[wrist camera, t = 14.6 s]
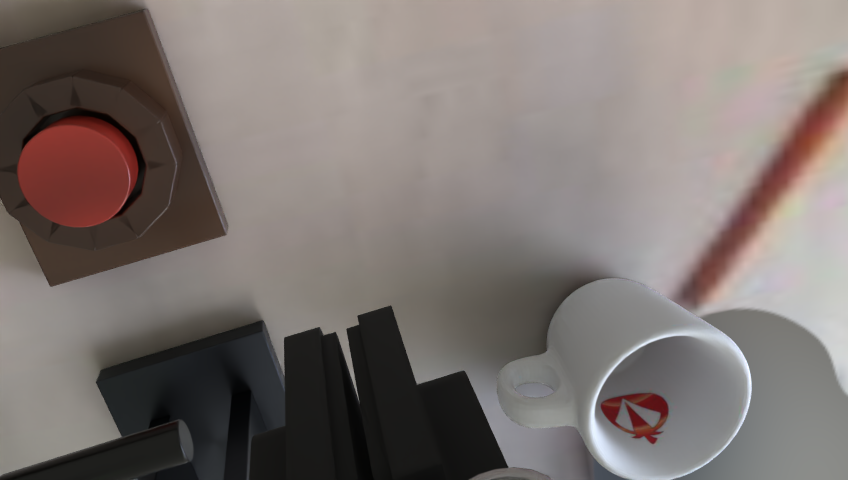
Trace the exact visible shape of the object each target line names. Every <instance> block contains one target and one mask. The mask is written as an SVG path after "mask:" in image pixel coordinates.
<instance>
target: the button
mask: <svg viewBox="0 0 848 480" xmlns="http://www.w3.org/2000/svg"><path fill="white" fill-rule="evenodd" d="M17 176H18V182H19V186H20V188H21V191H22V193H23V195H24V197H25V199H26V200H27V201H28V203H29V204H30V205H31V206H32V207H33V208H34V209H35V210H36V211H37V212H38V213H39V214H41V215H42V216H44V217H45V218H47V219H49V220H51V221H52V222H55V223H58V224H60V225H64V226H69V227H90V226H94V225H97V224H100V223H103V222H105V221H107V220H109V219H110V218H111V217H113V216H114V215H115V214H116V213H117V212H119V210H120V209H121V208H122V207H123V205H124V204H125V202H126V200H127V199H128V197H129V195H130V194H131V192H132V190H133V189H134V187H135V184H136V181H137V177H138V161H137V156H136V153H135V150H134V148H133V146H132V145H131V143H130V141H129V140H128V139H127V137H126V136H125V135H124V134H123V133H122V132H121V131H120V130H119V129H117V128H116V127H115V126H113V125H112V124H110V123H108V122H106V121H104V120H101V119H98V118H95V117H90V116H80V115H78V116H69V117H65V118H62V119H59V120H57V121H55V122H53V123H51V124H50V125H49V126H47V127H46V128H44V129H43V130H42V131H40V132H39V133H38V134H36V135H35V136H34V137H33V138H31V139H30V140H29V141H28V143H27V144H26V145H25V147H24V148H23V150H22V152H21V154H20V157H19V161H18V166H17Z"/></svg>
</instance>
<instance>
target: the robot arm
mask: <svg viewBox="0 0 848 480" xmlns="http://www.w3.org/2000/svg"><path fill="white" fill-rule="evenodd" d="M358 321H359V325H357V326H354V327H350V328H347V329H346V330H347V336H348V341H349V347H350V352H351V358H352V363H353V369H354V374H355V380H356V386H357V391H358V397H359V400H358V397H357V394H356V391H355V388H354V385H353V382H352V379H351V376H350V373H349V370H348V366H347V363H346V360H345V357H344V354H343V351H342V348H341V345H340V342H339V339H338V336H337V334H336V332H334V333H330V334H327V335H324V336H323V333H322V331H321V329H320V327H318V328H314V329H311V330H308V331H304V332H301V333H298V334H294V335H291V336H288V337H285V338H284V365H285V426H282V427H279V428H275V429H272V430H269V431H266V432H262V433H259V434H256V435H254V436H253V437H252V441H251V454H250V471H249V480H552V479H551V478H550V477H548V476H547V475H544V474H542V473H539V472H537V471H534V470H531V469H523V468H515V467H513V468H508V466H507V464H506V461H505V459H504V457H503V455H502V452H501V450H500V448H499V446H498V443H497V441H496V439H495V437H494V434H493V432H492V430H491V428H490V425H489V423H488V421H487V419H486V416H485V414H484V412H483V410H482V408H481V405H480V403H479V401H478V399H477V396H476V394H475V392H474V390H473V387H472V385H471V383H470V381H469V378H468V376H467V374H466V372H465V371H460V372H457V373H454V374H451V375H447V376H444V377H441V378H438V379H434V380H431V381H428V382H425V383H421V384H418V385H417V384H416V381H415V378H414V375H413V372H412V369H411V366H410V362H409V359H408V356H407V353H406V350H405V347H404V344H403V341H402V337H401V334H400V331H399V328H398V325H397V322H396V319H395V315H394V312H393V309H392V306H388V307H384V308H381V309H378V310H374V311H371V312H368V313H364V314H361V315H358ZM359 402H360V403H359Z"/></svg>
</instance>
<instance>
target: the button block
mask: <svg viewBox="0 0 848 480" xmlns="http://www.w3.org/2000/svg"><path fill="white" fill-rule="evenodd" d="M78 115H80V116H90V117H95V118H98V119H101V120H104V121H106V122H108V123H110V124H112V125H113V126H115V127H116V128H117V129H119V130H120V131H121V132H122V133H123V134H124V135H125V136H126V137H127V139H128V140H129V141H130V143H131V145H132V146H133V148H134V150H135V153H136V156H137V161H138V177H137V181H136V184H135V187H134V189H133V190H132V192H131V194H130V195H129V197H128V199H127V200H126V202H125V204H124V205H123V207H122V208H121V209H120V210H119V212H117V213H116V214H115V215H114V216H113V217H111V218H110V219H109V220H107V221H105V222H103V223H100V224H97V225H94V226H90V227H69V226H64V225H60V224H58V223H55V222H52V221H51V220H49V219H47V218H45V217H44V216H42V215H41V214H39V213H38V212H37V211H36V210H35V209H34V208H33V207H32V206H31V205H30V204H29V203H28V201H27V200H26V199H25V197H24V195H23V193H22V191H21V188H20V186H19V182H18V176H17V166H18V161H19V157H20V154H21V152H22V150H23V148H24V147H25V145H26V144H27V143H28V141H29V140H30V139H31V138H33V137H34V136H35V135H36V134H38V133H39V132H40V131H42V130H43V129H44V128H46V127H47V126H49V125H50V124H51V123H53V122H55V121H57V120H59V119H62V118H65V117H69V116H78ZM0 198H1V200H2V202H3V204H4V206H5V208H6V210H7V212H9V214H10V215H11V216H13V217H14V218H15V219H17V220H18V221H19V222H20V224H21V227H22V229H23V231H24V233H25V235H26V237H27V239H28V241H29V243H30V245H31V247H32V250H33V252H34V254H35V256H36V258H37V260H38V262H39V264H40V266H41V268H42V270H43V273H44V275H45V277H46V279H47V281H48V283H49V285H50V286H56V285H59V284H62V283H66V282H69V281H72V280H76V279H79V278H83V277H86V276H89V275H93V274H96V273H99V272H103V271H106V270H110V269H113V268H116V267H120V266H123V265H127V264H130V263H133V262H137V261H140V260H143V259H147V258H150V257H154V256H157V255H160V254H164V253H167V252H171V251H174V250H177V249H181V248H184V247H187V246H191V245H194V244H198V243H201V242H204V241H208V240H211V239H214V238H218V237H221V236H225V235H227V231H228V223H227V221H226V218H225V215H224V213H223V210H222V207H221V205H220V202H219V199H218V196H217V194H216V191H215V188H214V186H213V183H212V180H211V177H210V175H209V172H208V169H207V167H206V164H205V161H204V158H203V156H202V153H201V150H200V148H199V145H198V142H197V140H196V137H195V134H194V131H193V129H192V126H191V123H190V121H189V118H188V115H187V112H186V110H185V107H184V104H183V102H182V99H181V96H180V93H179V91H178V88H177V85H176V83H175V80H174V77H173V75H172V72H171V69H170V66H169V64H168V61H167V58H166V56H165V53H164V50H163V47H162V45H161V42H160V39H159V37H158V34H157V31H156V28H155V26H154V23H153V20H152V18H151V15H150V12H149V10H148V9H144V10H140V11H137V12H133V13H129V14H125V15H122V16H118V17H114V18H111V19H107V20H103V21H99V22H96V23H92V24H88V25H85V26H81V27H77V28H73V29H70V30H66V31H62V32H59V33H55V34H51V35H47V36H44V37H40V38H36V39H33V40H29V41H25V42H21V43H18V44H14V45H10V46H7V47H3V48H0Z"/></svg>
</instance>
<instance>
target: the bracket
mask: <svg viewBox="0 0 848 480" xmlns="http://www.w3.org/2000/svg"><path fill="white" fill-rule="evenodd" d="M96 383H97V385H98V388H99V390H100V392H101V394H102V396H103V398H104V400H105V402H106V404H107V406H108V408H109V411H110V413H111V415H112V417H113V419H114V421H115V423H116V425H117V427H118V429H119V431H120V433H121V436H122V437H124V436H127V435H131V434H134V433H137V432H140V431H143V430H147V429H150V428H153V427H156V426H159V425H162V424H166V423H169V422H172V421H175V420H178V419H181V420H183V421H184V422H185V424H186V425H187V427H188V429H189V432H190V435H191V438H192V443H193V459H192V460H191V461H190V462H187V463H184V464H181V465H178V466H175V467H172V468H169V469H165V470H162V471H159V472H156V473H153V474H150V475H147V476H143V477H140V478H137V479H138V480H249V471H250V454H251V441H252V437H253V436H254V435H256V434H259V433H262V432H266V431H269V430H272V429H275V428H279V427H282V426H285V378H284V375H283V372H282V370H281V367H280V364H279V362H278V359H277V356H276V353H275V351H274V348H273V345H272V343H271V340H270V337H269V334H268V332H267V329H266V326H265V324H264V321H260V322H256V323H253V324H250V325H246V326H243V327H240V328H237V329H233V330H230V331H227V332H224V333H220V334H217V335H214V336H211V337H207V338H204V339H201V340H197V341H194V342H191V343H188V344H184V345H181V346H178V347H175V348H171V349H168V350H165V351H161V352H158V353H155V354H152V355H148V356H145V357H142V358H139V359H135V360H132V361H129V362H126V363H122V364H119V365H116V366H112V367H109V368H106V369H103V370H101V371H100V374H99V376H98V379H97V381H96Z"/></svg>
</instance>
